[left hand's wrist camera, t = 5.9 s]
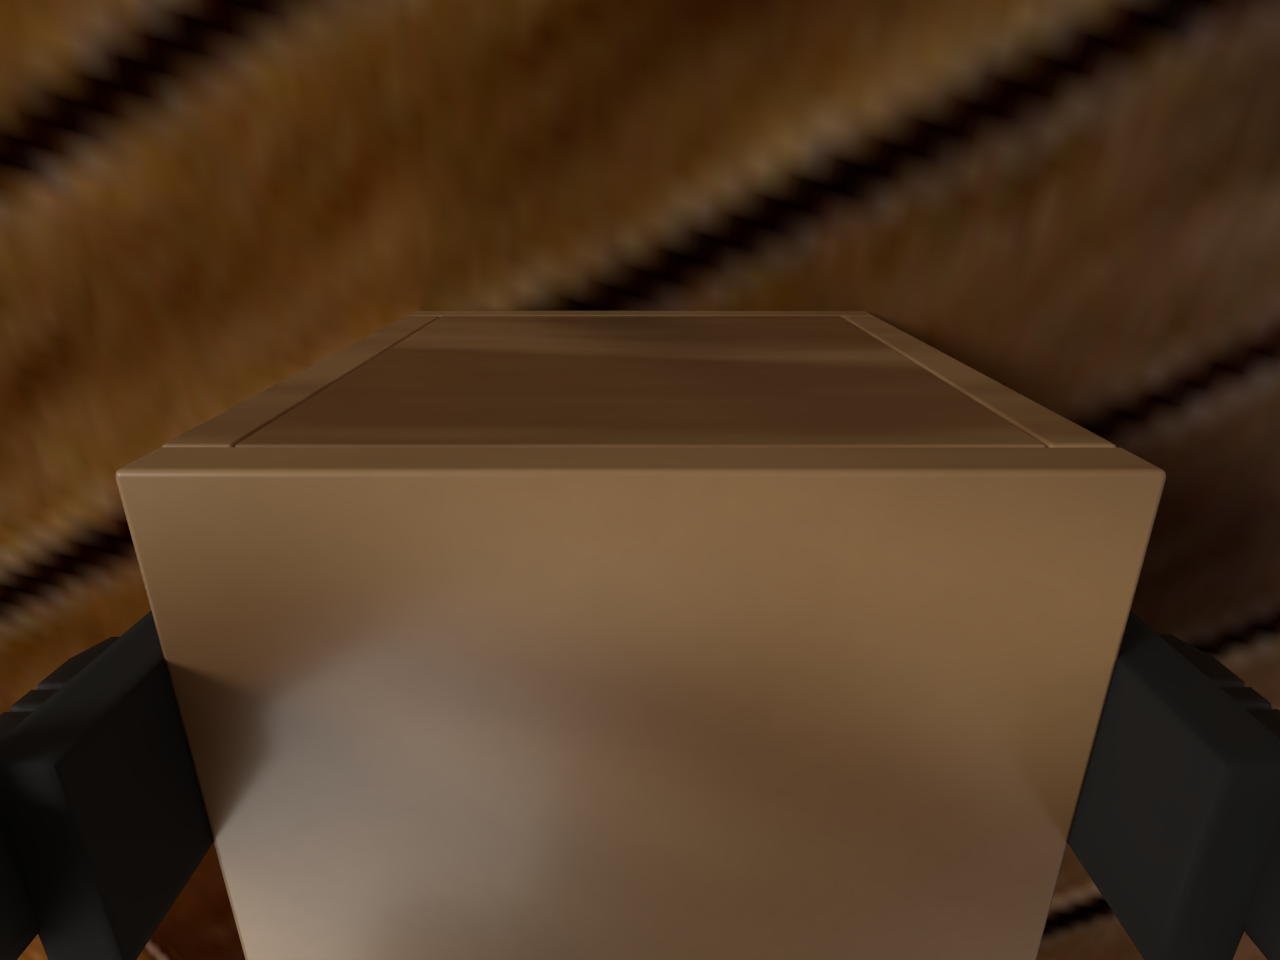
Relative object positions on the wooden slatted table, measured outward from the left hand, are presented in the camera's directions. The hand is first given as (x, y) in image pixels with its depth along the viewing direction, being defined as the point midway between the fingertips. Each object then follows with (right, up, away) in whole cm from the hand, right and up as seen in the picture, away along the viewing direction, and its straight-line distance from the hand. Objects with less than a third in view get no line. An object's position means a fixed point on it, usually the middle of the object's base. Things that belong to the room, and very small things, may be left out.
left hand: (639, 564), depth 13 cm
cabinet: (0, -4, +8) cm, 9 cm away
